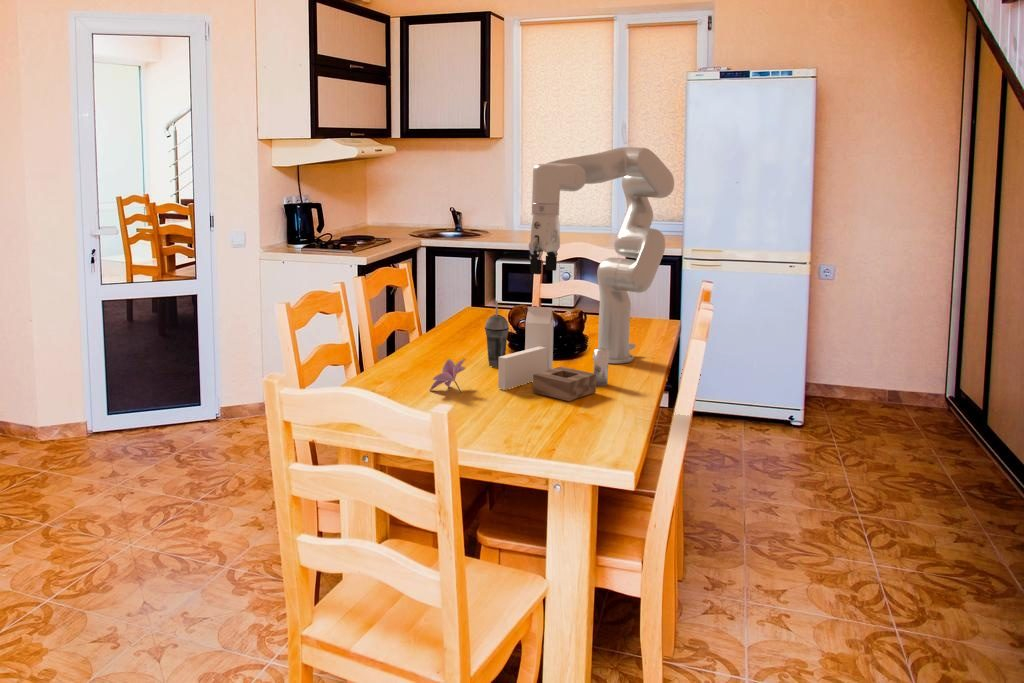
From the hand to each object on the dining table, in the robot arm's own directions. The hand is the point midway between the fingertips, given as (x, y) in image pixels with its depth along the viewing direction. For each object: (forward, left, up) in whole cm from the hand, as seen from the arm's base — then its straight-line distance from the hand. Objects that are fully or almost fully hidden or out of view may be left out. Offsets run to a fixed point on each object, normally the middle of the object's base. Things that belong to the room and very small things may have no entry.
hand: (543, 272), depth 248 cm
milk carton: (-6, -5, -31) cm, 32 cm away
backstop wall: (+8, 0, -30) cm, 32 cm away
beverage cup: (-2, -18, -31) cm, 36 cm away
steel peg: (-6, +17, -30) cm, 35 cm away
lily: (+27, -9, -31) cm, 42 cm away
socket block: (+8, +15, -30) cm, 35 cm away
